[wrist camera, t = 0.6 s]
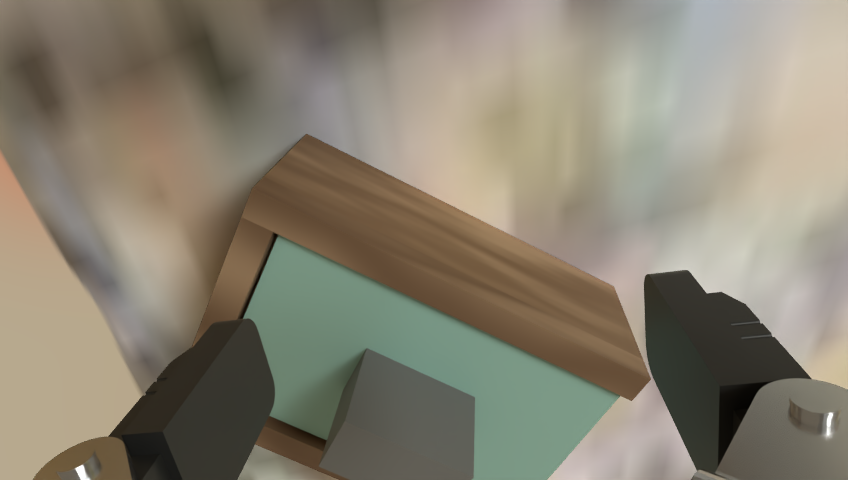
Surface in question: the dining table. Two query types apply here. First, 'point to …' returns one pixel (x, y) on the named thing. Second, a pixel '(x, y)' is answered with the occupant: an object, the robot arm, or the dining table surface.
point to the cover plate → (424, 339)
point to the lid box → (423, 272)
